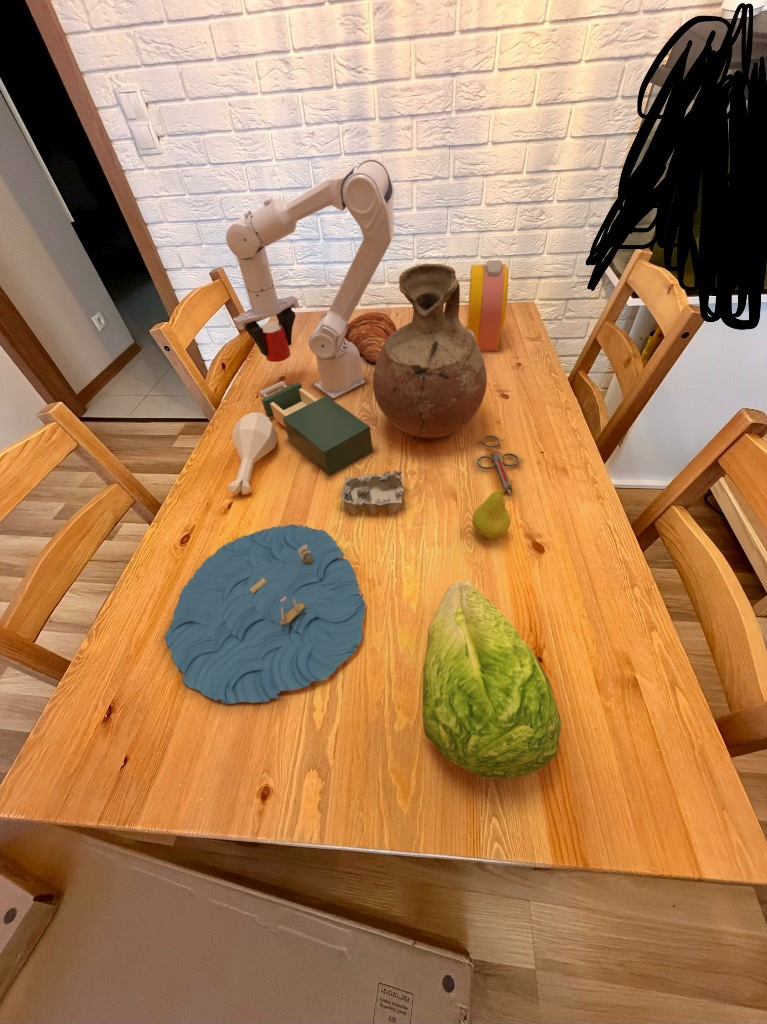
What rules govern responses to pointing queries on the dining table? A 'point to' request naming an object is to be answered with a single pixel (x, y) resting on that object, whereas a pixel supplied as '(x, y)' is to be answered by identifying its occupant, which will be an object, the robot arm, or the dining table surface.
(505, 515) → the fruit
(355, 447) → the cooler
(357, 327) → the pastry
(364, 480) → the grey jagged hollow block
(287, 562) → the blue ocean wave diorama
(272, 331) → the drink tin
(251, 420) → the chicken leg
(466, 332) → the jug
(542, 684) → the lettuce
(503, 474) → the syringe
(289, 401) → the green drawer
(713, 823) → the dining table surface
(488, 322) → the alarm clock
